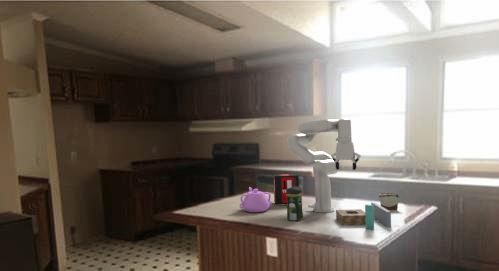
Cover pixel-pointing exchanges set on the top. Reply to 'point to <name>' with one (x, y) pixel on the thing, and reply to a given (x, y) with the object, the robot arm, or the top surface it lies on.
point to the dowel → (369, 216)
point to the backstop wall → (382, 214)
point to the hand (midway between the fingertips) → (346, 169)
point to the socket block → (351, 217)
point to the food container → (389, 200)
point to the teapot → (255, 201)
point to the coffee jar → (294, 203)
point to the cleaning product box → (284, 186)
